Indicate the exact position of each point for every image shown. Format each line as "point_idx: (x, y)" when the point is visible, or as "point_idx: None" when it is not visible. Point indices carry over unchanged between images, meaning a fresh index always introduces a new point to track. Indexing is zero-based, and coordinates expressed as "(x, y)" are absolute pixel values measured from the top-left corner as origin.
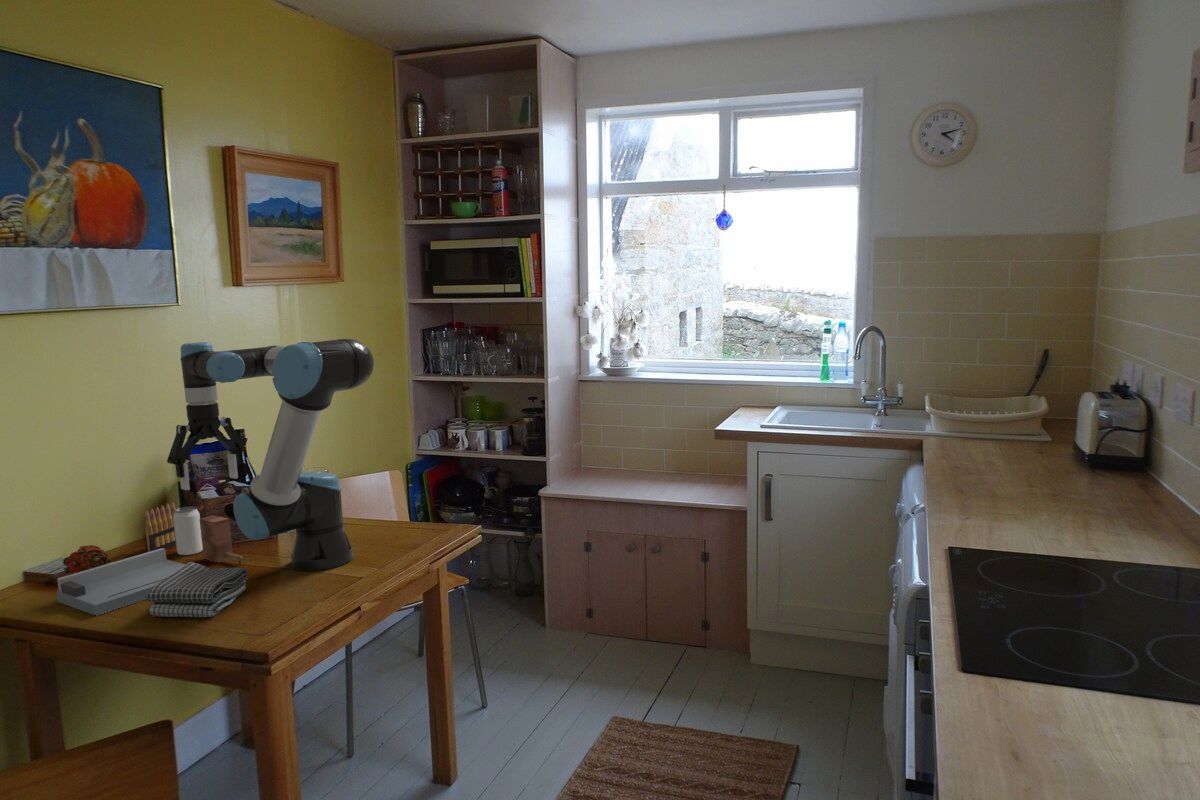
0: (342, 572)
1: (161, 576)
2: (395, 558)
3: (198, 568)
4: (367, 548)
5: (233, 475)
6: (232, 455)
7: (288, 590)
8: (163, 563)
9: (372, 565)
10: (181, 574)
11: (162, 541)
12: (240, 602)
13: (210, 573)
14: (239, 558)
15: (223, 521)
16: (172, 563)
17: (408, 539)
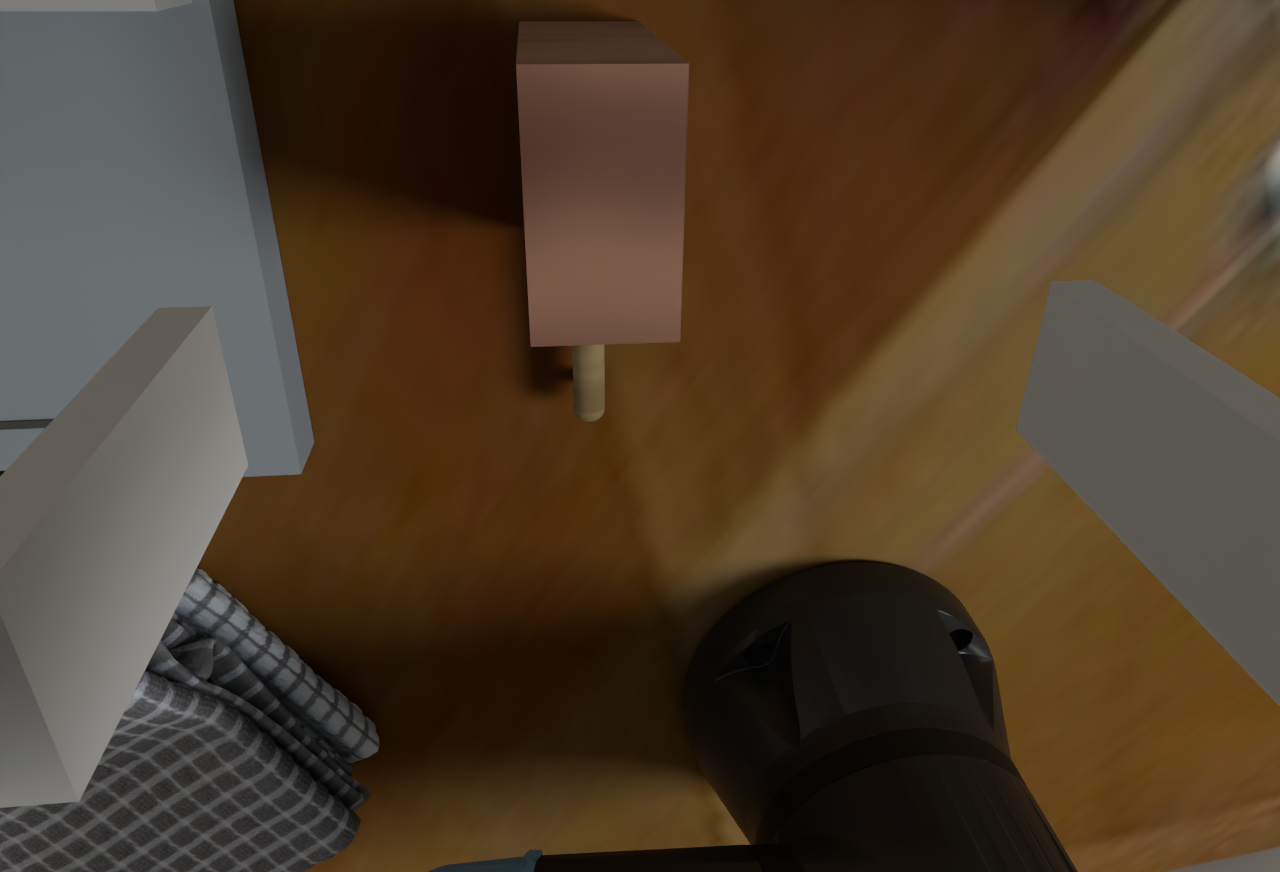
0: (748, 842)
1: (33, 356)
2: None
3: (136, 732)
4: (1061, 696)
5: (1049, 405)
6: (1274, 665)
7: (483, 847)
8: (142, 66)
9: None
10: None
11: None
12: None
13: (163, 820)
14: (576, 414)
15: (617, 339)
16: (196, 140)
17: (1228, 737)
